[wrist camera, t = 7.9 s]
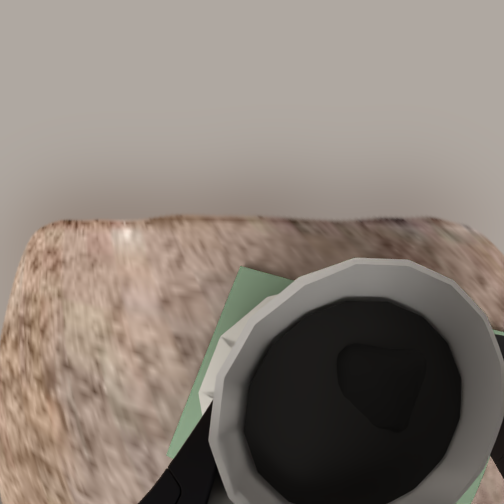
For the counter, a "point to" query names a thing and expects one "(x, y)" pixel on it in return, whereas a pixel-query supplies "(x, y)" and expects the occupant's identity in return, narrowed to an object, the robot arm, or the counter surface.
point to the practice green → (225, 336)
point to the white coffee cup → (359, 391)
